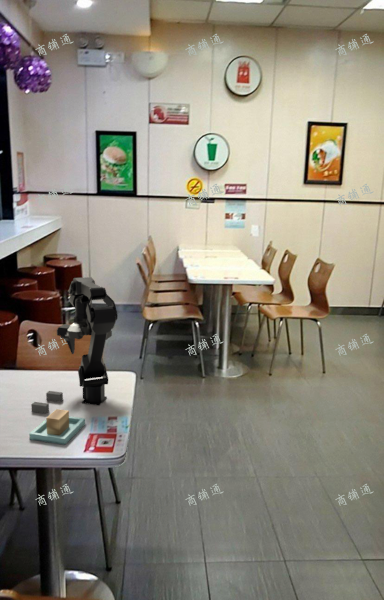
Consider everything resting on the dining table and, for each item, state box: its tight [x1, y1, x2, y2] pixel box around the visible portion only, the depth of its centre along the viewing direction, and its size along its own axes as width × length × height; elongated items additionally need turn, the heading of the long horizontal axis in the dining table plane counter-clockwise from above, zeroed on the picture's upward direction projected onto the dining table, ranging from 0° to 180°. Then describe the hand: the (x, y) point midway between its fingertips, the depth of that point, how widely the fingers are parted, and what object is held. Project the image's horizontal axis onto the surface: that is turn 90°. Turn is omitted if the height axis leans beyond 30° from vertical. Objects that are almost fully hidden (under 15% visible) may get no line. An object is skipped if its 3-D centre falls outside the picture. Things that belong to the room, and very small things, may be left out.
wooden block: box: [45, 408, 70, 436], centre depth 144 cm, size 4×6×5 cm, turn 166°
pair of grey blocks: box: [30, 390, 64, 414], centre depth 161 cm, size 5×11×2 cm, turn 166°
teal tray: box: [29, 415, 86, 446], centre depth 144 cm, size 11×13×2 cm
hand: (84, 355), depth 175 cm, fingers open, 9 cm apart
